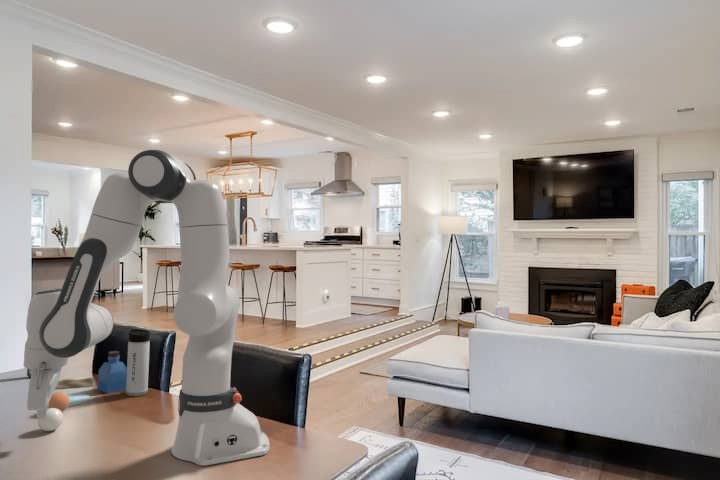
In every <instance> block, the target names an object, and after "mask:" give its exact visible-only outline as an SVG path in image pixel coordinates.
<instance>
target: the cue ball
mask: <svg viewBox="0 0 720 480" xmlns="http://www.w3.org/2000/svg"><path fill="white" fill-rule="evenodd" d="M63 422H64V414H63V411H62V412H61V411H60V410H59V409H56V408H49V409H48V413H47V415H46V417H45V418H43V419H38V418H37V424H38V425H37V426H38V427H39V429H41V430H42V431H45V432H53V431H55V430H56V429H58V428H59V427H61V425H62V424H63Z"/></svg>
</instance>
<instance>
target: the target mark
mask: <svg viewBox="0 0 720 480" xmlns="http://www.w3.org/2000/svg"><path fill="white" fill-rule="evenodd" d="M64 393H65V394H67V395H68V397H69V405H68V407H73V406H78V405H81V404H83V403H86V402H88V401H89V399H90V395H89V394H87V393H83V392H64ZM68 407H67V408H68Z"/></svg>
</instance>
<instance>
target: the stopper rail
mask: <svg viewBox="0 0 720 480" xmlns="http://www.w3.org/2000/svg"><path fill="white" fill-rule="evenodd" d="M93 385H94V377H91V376H90V377H78V378H77V377H76V378H62V379H61V378H59V382H58V385H57V387H56V389H55V390H57V389H59V390H60V389H69V388H81V387H82V388H84V387H85V388H86V387H93Z"/></svg>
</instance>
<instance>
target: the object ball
mask: <svg viewBox="0 0 720 480" xmlns="http://www.w3.org/2000/svg"><path fill="white" fill-rule="evenodd" d="M65 393H66V392H62V391H58V392H54V393H53V395H52V397H51V399H50V401H49V406H48V409H49V408H56V409H59V410H60V411H61V412H62V413H63V412H64V411H66V409H67V408H68V405H69V397H68V395H67V394H65Z"/></svg>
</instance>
